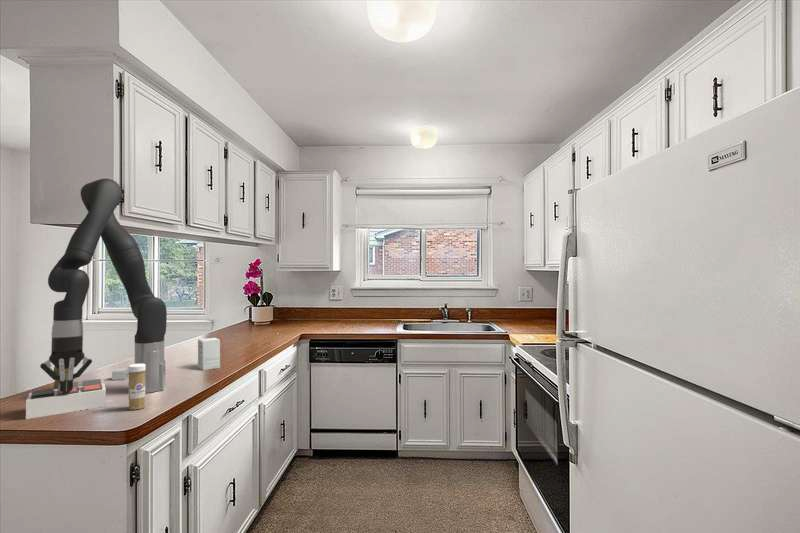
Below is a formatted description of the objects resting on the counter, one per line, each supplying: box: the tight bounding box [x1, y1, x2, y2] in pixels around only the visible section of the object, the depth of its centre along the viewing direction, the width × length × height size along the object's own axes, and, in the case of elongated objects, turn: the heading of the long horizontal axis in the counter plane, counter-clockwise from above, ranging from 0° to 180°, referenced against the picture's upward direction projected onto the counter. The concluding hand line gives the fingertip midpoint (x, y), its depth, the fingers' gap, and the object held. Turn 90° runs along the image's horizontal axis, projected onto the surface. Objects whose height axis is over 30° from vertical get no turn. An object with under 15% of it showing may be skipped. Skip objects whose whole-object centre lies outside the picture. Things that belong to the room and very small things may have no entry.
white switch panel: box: [25, 382, 107, 420], centre depth 134 cm, size 19×10×5 cm, turn 126°
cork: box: [52, 366, 69, 390], centre depth 147 cm, size 6×6×11 cm
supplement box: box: [197, 337, 221, 371], centre depth 189 cm, size 7×7×13 cm
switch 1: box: [31, 388, 54, 396], centre depth 131 cm, size 5×7×1 cm
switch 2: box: [82, 378, 102, 392], centre depth 138 cm, size 5×7×1 cm
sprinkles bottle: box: [127, 363, 146, 411], centre depth 134 cm, size 5×5×14 cm
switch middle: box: [58, 381, 79, 396], centre depth 134 cm, size 5×7×1 cm
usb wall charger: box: [111, 367, 129, 381], centre depth 171 cm, size 4×7×4 cm, turn 103°
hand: (66, 392), depth 131 cm, fingers closed
